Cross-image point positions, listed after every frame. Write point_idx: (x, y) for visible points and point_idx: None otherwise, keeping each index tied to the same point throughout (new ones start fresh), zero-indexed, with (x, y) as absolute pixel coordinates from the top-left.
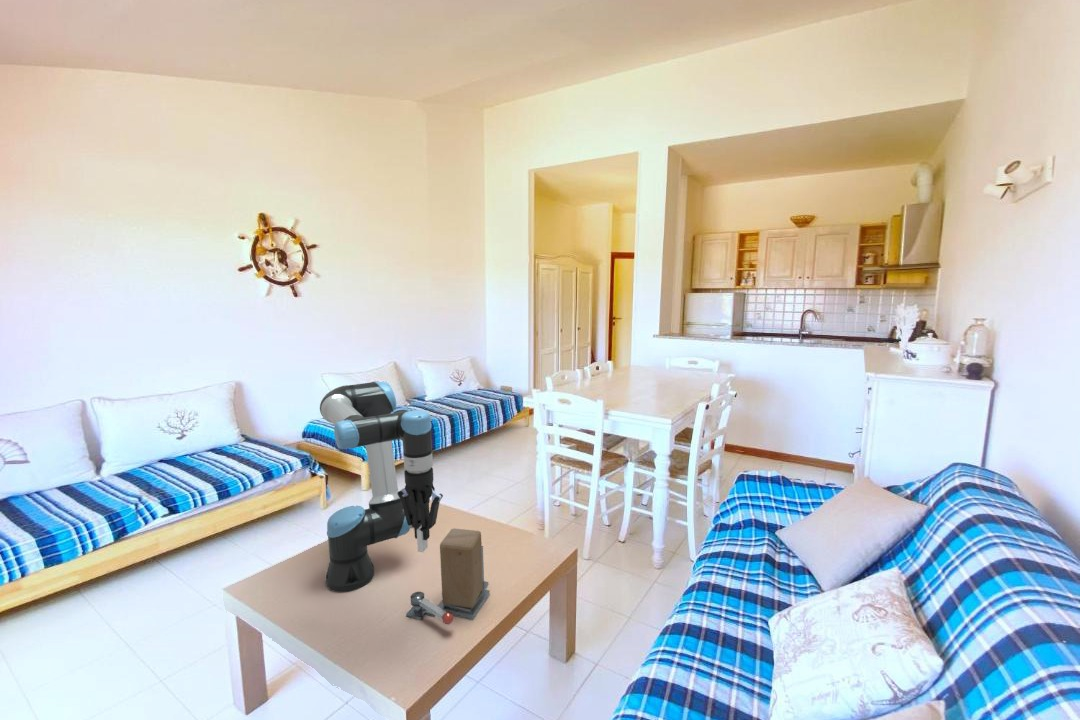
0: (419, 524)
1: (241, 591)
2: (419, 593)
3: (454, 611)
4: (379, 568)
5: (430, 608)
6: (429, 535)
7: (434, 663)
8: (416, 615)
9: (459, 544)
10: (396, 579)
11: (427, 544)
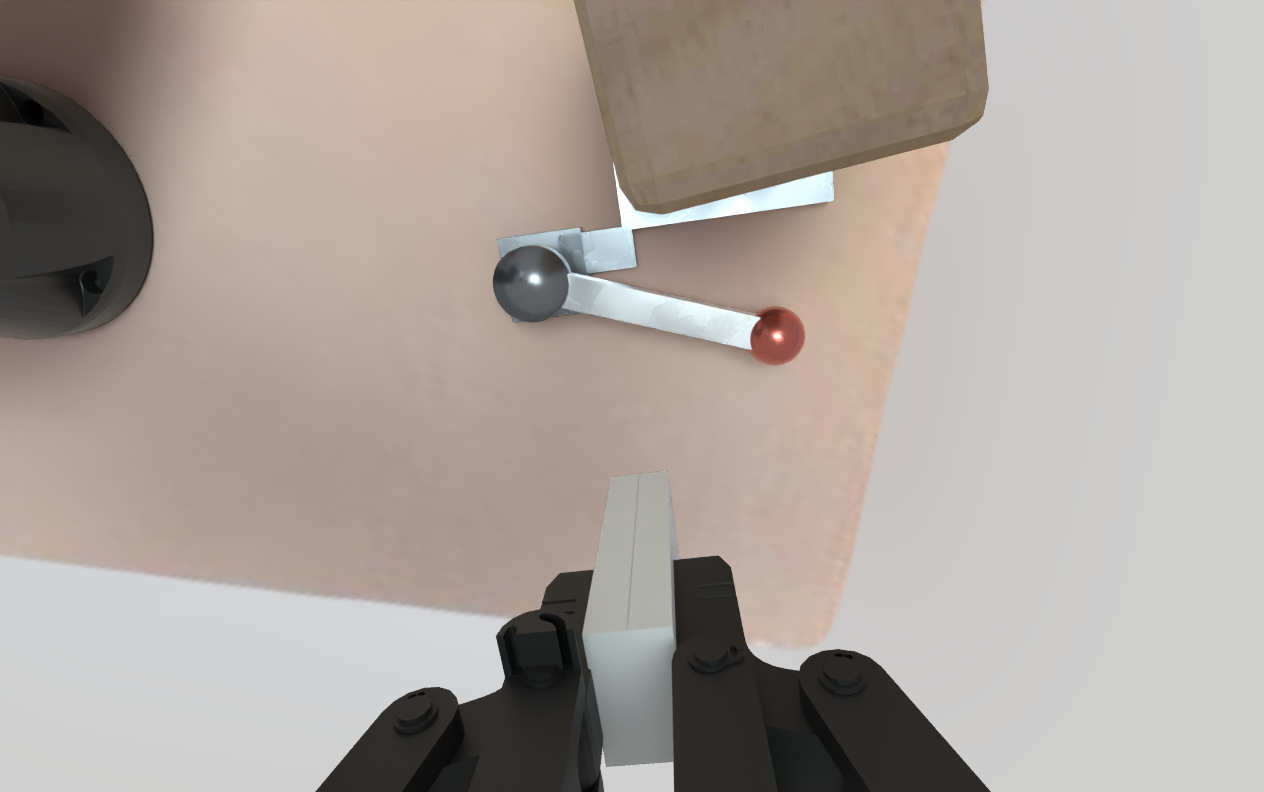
0: (591, 733)
1: None
2: (526, 263)
3: (727, 215)
4: (74, 62)
5: (656, 328)
6: (731, 573)
7: (805, 481)
8: (564, 310)
9: (852, 129)
10: (244, 104)
11: (668, 487)
